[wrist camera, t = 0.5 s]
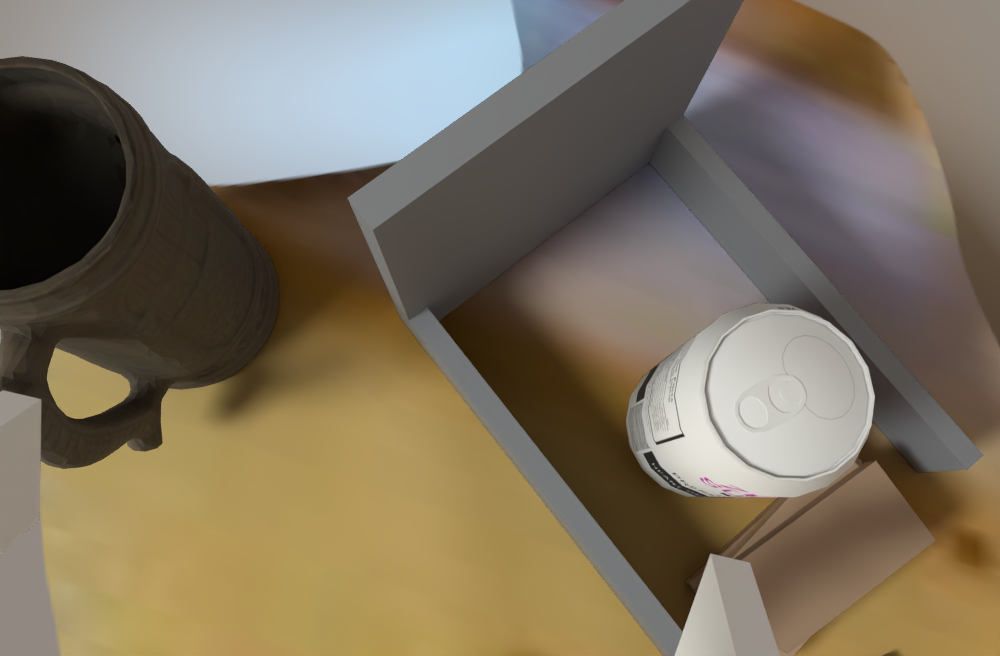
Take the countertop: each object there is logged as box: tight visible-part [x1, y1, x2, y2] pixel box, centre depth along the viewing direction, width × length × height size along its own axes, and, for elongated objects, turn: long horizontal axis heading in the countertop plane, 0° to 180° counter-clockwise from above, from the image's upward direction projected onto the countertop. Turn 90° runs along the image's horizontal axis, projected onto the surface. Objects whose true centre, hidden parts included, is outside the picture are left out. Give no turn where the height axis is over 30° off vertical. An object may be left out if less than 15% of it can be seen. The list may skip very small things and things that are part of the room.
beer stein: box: [0, 56, 279, 469], centre depth 39 cm, size 15×11×20 cm
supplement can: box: [626, 303, 875, 498], centre depth 41 cm, size 8×8×15 cm
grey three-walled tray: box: [348, 0, 983, 656], centre depth 39 cm, size 26×19×20 cm
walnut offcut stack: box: [686, 457, 936, 656], centre depth 45 cm, size 7×12×4 cm, turn 130°
